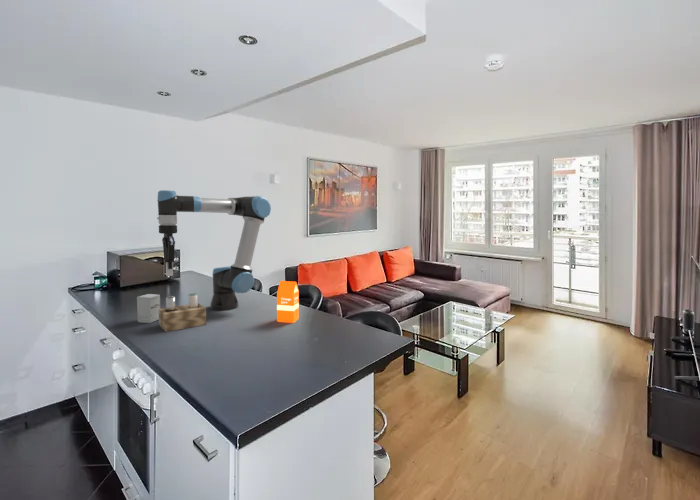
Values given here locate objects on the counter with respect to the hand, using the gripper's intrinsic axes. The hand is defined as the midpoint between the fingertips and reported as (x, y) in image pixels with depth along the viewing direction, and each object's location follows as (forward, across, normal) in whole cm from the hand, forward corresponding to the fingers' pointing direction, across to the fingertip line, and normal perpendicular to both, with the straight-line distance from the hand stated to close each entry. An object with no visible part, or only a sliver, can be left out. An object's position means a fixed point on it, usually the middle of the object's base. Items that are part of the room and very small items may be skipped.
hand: (169, 275), depth 169 cm
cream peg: (+18, 0, +10) cm, 21 cm away
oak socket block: (+24, 0, +5) cm, 25 cm away
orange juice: (+25, +23, +49) cm, 60 cm away
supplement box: (+25, -17, -6) cm, 30 cm away
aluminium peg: (+18, 0, 0) cm, 18 cm away
